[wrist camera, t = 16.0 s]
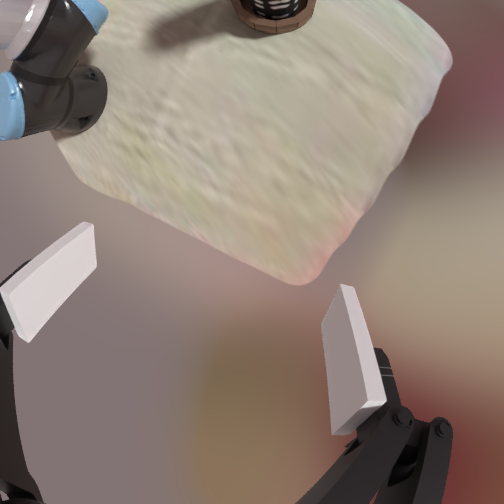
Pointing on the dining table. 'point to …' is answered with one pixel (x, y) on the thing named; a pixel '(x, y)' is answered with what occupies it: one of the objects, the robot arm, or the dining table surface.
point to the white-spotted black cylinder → (274, 8)
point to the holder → (274, 26)
